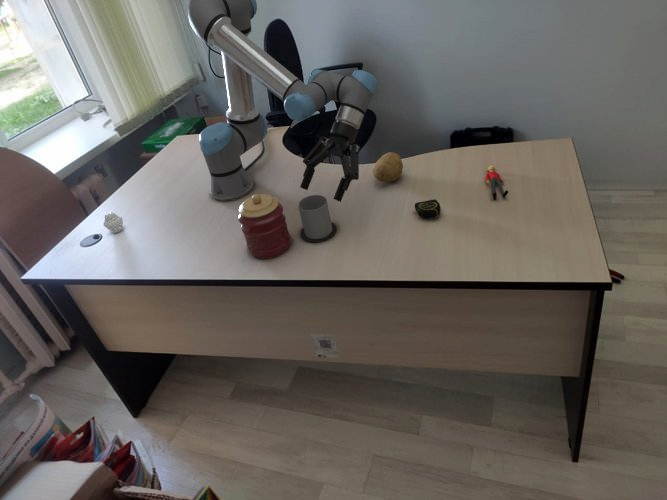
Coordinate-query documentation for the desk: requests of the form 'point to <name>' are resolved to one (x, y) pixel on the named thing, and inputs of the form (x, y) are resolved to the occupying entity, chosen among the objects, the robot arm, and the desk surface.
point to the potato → (388, 167)
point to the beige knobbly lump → (113, 222)
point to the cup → (315, 216)
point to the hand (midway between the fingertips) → (319, 194)
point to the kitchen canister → (264, 226)
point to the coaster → (320, 238)
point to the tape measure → (428, 209)
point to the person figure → (495, 181)
